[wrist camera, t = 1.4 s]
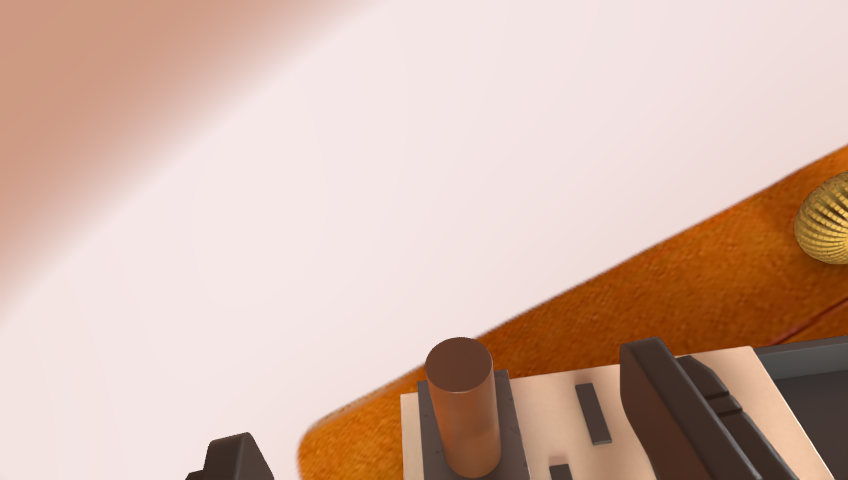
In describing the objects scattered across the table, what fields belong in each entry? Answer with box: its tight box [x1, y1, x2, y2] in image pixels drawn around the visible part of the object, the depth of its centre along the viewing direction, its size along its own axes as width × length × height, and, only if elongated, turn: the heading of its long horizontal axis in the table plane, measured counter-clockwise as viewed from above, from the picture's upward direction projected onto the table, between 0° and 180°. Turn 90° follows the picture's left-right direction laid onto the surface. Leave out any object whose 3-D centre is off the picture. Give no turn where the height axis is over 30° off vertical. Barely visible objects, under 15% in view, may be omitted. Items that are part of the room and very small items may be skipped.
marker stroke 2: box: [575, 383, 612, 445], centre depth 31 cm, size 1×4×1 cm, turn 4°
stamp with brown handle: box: [417, 337, 531, 480], centre depth 27 cm, size 5×9×9 cm, turn 4°
